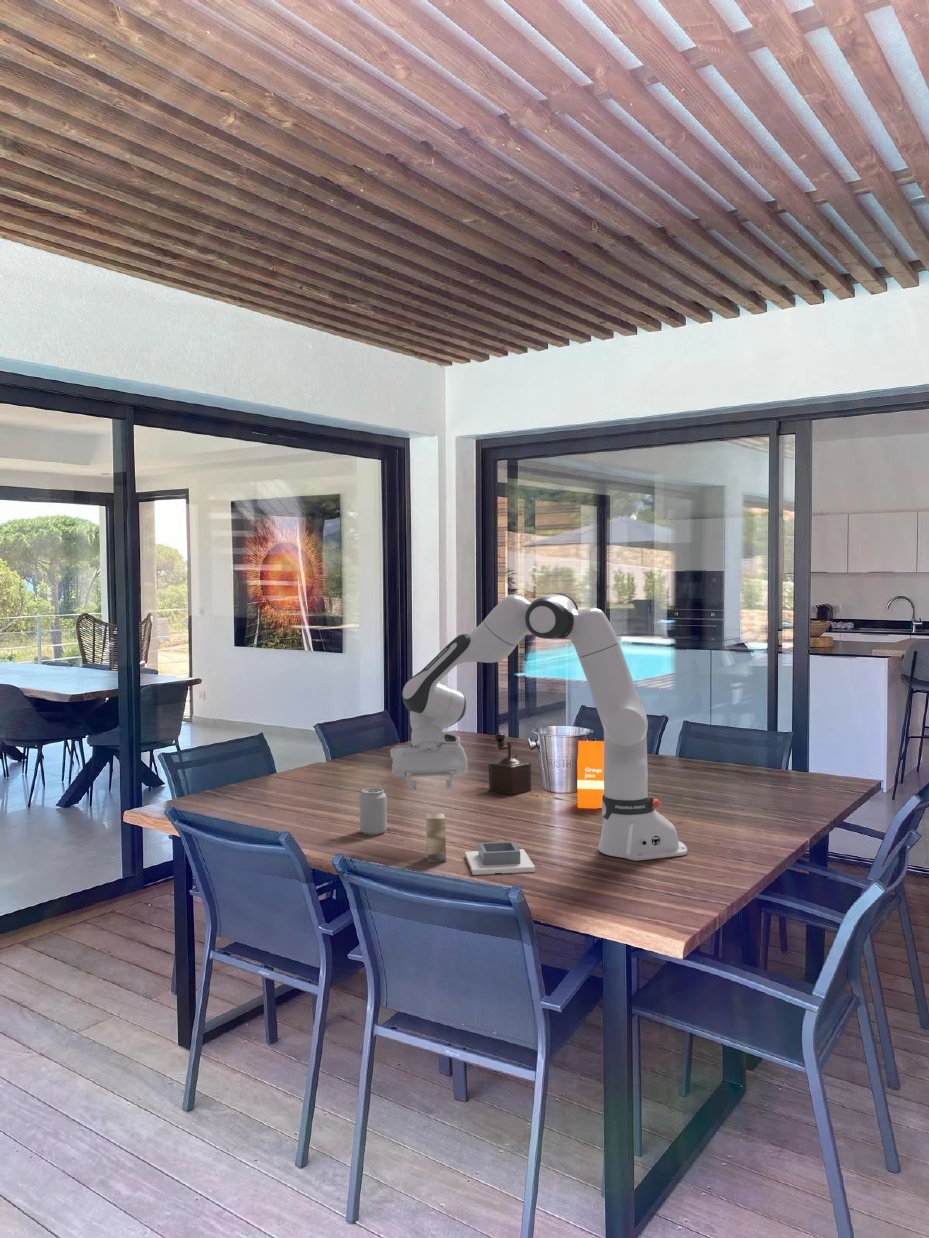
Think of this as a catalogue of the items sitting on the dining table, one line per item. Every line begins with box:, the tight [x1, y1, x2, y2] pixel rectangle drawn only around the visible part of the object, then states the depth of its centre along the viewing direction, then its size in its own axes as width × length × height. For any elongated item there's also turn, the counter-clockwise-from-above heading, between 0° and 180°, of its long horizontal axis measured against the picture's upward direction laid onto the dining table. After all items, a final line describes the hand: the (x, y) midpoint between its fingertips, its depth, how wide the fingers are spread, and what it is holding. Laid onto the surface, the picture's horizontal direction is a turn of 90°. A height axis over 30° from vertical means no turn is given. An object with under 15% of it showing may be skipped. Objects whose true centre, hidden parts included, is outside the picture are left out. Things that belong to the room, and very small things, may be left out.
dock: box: [464, 840, 536, 876], centre depth 228 cm, size 15×15×4 cm
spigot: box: [425, 813, 447, 864], centre depth 232 cm, size 4×4×11 cm
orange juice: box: [576, 740, 604, 809], centre depth 286 cm, size 8×9×20 cm
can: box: [359, 787, 388, 836], centre depth 258 cm, size 8×8×12 cm
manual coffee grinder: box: [488, 732, 532, 796], centre depth 309 cm, size 16×11×18 cm
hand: (431, 787), depth 243 cm, fingers open, 8 cm apart
